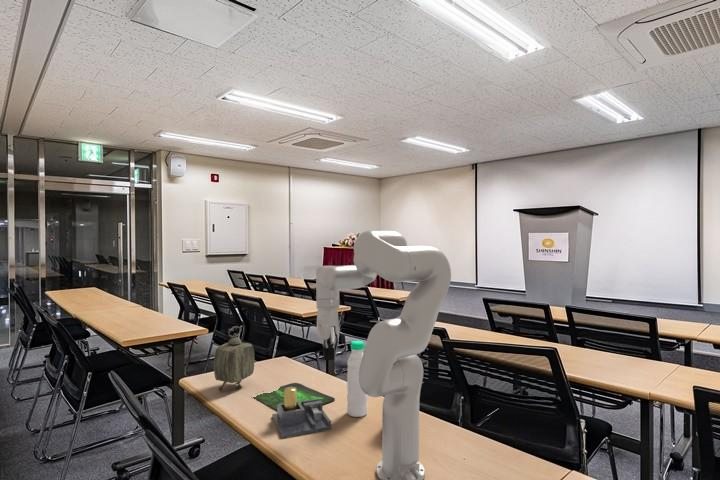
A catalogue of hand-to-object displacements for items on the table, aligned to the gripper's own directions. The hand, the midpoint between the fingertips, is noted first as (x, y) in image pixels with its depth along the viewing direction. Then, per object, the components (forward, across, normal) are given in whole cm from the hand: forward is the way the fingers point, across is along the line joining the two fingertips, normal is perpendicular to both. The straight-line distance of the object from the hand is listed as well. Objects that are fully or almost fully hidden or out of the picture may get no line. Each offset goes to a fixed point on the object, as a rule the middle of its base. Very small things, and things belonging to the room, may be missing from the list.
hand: (328, 359), depth 136 cm
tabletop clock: (+20, -46, -25) cm, 56 cm away
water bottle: (+22, -5, +12) cm, 25 cm away
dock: (+21, -5, -8) cm, 23 cm away
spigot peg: (+20, -7, -11) cm, 24 cm away
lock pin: (+20, -7, -3) cm, 21 cm away
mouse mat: (+21, -27, -6) cm, 35 cm away
